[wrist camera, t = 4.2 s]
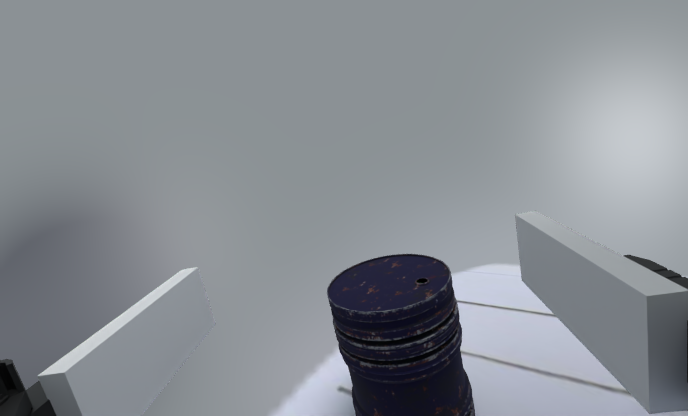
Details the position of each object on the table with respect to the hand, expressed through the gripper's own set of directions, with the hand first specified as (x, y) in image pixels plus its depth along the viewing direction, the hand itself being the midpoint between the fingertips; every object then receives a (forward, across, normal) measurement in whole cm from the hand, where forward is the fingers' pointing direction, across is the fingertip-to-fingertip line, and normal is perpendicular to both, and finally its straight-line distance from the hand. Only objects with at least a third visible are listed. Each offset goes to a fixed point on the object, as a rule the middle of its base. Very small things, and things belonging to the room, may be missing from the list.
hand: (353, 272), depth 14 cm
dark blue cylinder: (+12, +1, -21) cm, 24 cm away
